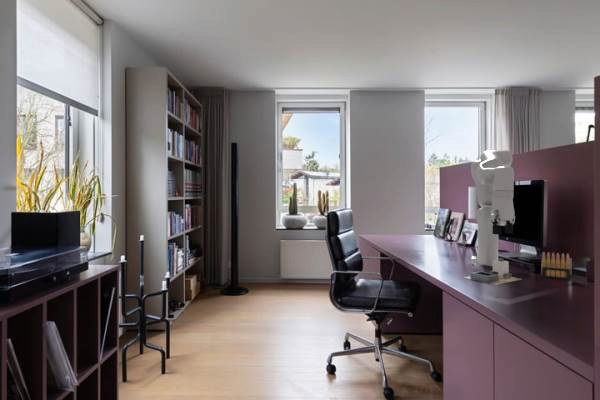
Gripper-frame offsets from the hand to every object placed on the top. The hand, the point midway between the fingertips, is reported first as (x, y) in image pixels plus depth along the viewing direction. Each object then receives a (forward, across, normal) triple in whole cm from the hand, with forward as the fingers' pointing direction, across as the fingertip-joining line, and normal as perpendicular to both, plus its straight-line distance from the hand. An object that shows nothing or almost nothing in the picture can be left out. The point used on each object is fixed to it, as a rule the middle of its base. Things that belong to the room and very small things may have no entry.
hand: (502, 233), depth 146 cm
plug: (+19, 0, 0) cm, 19 cm away
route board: (+20, +6, -1) cm, 21 cm away
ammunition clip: (+21, -26, +10) cm, 34 cm away
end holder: (+19, +12, -1) cm, 23 cm away
